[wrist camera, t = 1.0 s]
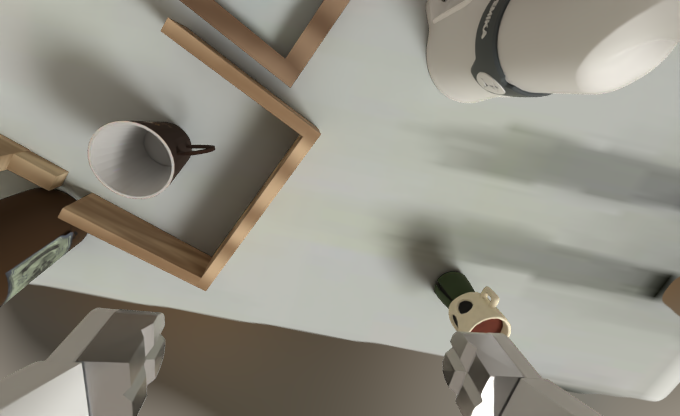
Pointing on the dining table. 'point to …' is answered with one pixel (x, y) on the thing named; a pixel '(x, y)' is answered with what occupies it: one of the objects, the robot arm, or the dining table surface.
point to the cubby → (203, 268)
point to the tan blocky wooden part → (30, 165)
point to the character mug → (471, 306)
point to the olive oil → (32, 237)
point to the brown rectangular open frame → (261, 51)
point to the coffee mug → (140, 156)
